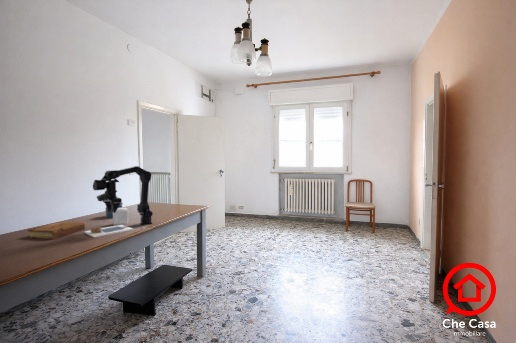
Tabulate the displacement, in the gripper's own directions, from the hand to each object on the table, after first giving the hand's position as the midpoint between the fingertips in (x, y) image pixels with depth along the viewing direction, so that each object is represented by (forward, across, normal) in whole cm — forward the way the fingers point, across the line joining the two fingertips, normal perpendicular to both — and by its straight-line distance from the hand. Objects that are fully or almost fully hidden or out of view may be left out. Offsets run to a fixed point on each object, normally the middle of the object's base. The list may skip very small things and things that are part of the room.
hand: (111, 212), depth 180 cm
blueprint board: (+13, 0, -2) cm, 13 cm away
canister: (+13, -44, +19) cm, 50 cm away
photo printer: (+13, -16, +12) cm, 24 cm away
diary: (+14, -20, -26) cm, 35 cm away
